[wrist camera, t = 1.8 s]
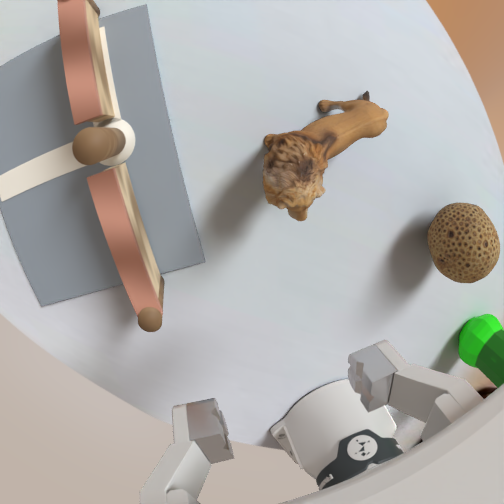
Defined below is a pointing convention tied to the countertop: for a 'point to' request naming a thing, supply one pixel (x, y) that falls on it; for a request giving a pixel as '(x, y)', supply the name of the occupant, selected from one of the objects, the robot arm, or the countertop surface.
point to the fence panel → (129, 243)
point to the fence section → (87, 81)
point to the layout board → (75, 174)
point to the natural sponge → (463, 242)
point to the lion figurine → (315, 152)
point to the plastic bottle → (484, 346)
